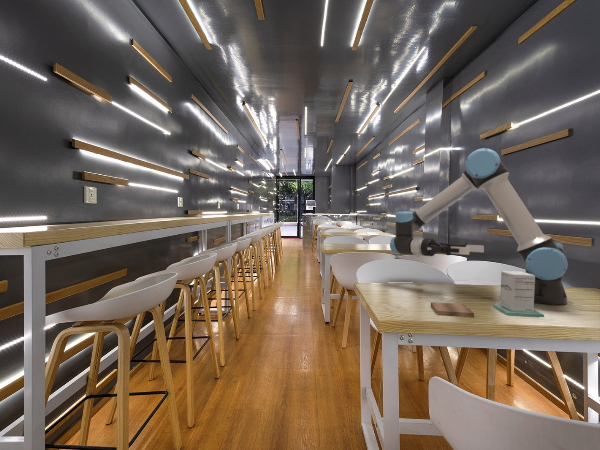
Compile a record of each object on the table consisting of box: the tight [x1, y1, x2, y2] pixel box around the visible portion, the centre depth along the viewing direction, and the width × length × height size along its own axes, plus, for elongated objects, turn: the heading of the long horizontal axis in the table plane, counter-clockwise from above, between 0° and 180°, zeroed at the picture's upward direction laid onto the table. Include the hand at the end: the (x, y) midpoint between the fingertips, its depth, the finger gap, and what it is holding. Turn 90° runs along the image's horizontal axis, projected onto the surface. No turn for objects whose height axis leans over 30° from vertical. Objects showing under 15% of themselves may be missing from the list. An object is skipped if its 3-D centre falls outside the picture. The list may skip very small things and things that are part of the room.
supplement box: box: [499, 270, 535, 312], centre depth 111 cm, size 7×7×13 cm
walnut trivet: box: [430, 301, 475, 318], centre depth 110 cm, size 11×11×2 cm
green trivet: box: [492, 303, 545, 318], centre depth 111 cm, size 11×11×2 cm
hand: (476, 250), depth 122 cm, fingers open, 13 cm apart
